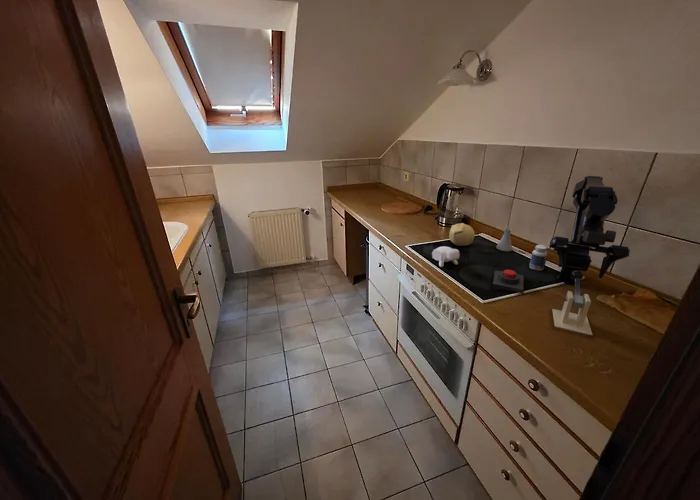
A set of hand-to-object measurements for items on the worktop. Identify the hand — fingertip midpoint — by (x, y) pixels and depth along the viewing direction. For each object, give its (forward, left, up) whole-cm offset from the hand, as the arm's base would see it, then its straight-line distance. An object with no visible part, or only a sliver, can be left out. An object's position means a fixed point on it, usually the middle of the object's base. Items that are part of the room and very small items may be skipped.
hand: (581, 274), depth 91 cm
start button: (-11, -19, -10) cm, 24 cm away
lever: (+2, -1, -5) cm, 5 cm away
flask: (-48, -22, -14) cm, 54 cm away
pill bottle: (-31, -9, -14) cm, 35 cm away
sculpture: (-46, -42, -14) cm, 64 cm away
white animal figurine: (-20, -43, -14) cm, 50 cm away
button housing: (-11, -19, -14) cm, 26 cm away
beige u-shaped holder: (+7, -1, -14) cm, 15 cm away
